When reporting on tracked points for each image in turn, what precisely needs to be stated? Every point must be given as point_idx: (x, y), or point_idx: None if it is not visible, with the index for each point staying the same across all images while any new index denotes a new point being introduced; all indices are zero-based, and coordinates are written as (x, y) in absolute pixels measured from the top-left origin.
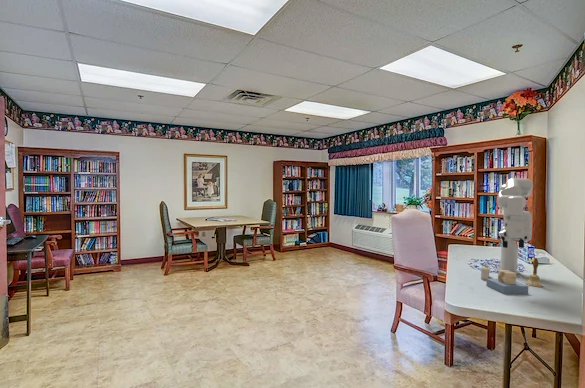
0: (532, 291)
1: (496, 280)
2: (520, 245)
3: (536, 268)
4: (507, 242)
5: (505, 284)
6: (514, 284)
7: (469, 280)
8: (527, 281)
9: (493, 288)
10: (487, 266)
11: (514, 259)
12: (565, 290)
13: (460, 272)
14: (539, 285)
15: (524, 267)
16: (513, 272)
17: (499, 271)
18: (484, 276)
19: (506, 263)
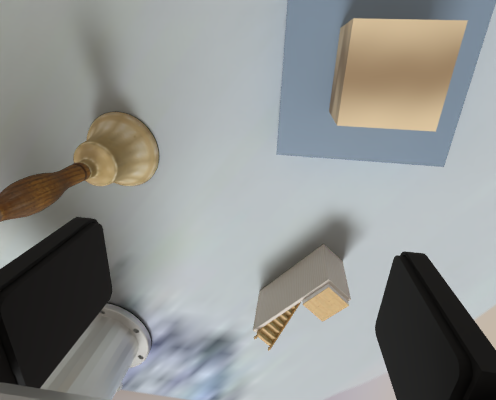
0: (223, 26)
1: None
2: (90, 278)
3: (55, 172)
4: (463, 335)
5: (440, 14)
6: (363, 14)
7: (440, 245)
8: (141, 174)
9: None
10: (263, 334)
11: (61, 368)
12: (15, 44)
13: (358, 355)
14: (114, 116)
15: None
16: (355, 50)
17: (437, 115)
18: (333, 261)
19: (110, 361)
